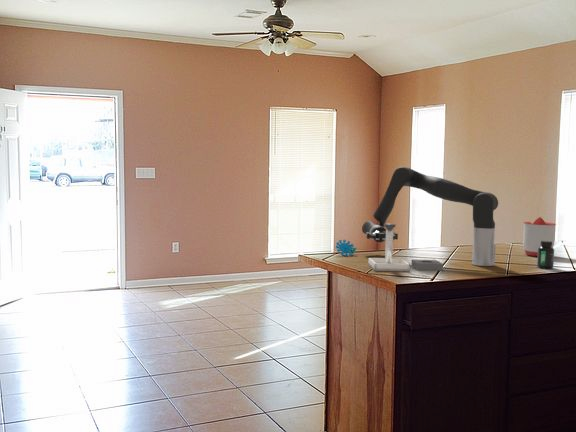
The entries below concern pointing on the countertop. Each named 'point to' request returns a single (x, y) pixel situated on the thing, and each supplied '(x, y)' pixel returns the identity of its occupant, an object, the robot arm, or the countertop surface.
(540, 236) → the citrus juicer
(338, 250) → the gear
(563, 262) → the countertop surface
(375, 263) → the tray
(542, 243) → the supplement bottle
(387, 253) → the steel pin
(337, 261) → the countertop surface
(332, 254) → the countertop surface
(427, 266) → the block
